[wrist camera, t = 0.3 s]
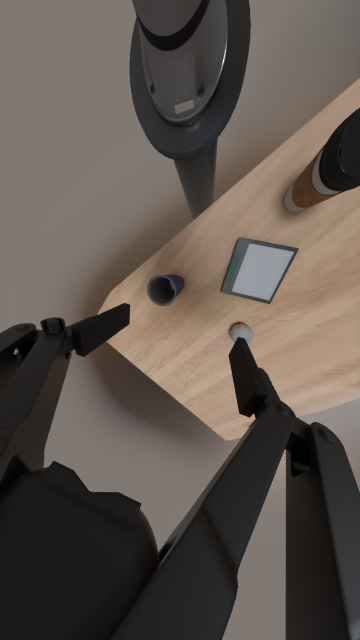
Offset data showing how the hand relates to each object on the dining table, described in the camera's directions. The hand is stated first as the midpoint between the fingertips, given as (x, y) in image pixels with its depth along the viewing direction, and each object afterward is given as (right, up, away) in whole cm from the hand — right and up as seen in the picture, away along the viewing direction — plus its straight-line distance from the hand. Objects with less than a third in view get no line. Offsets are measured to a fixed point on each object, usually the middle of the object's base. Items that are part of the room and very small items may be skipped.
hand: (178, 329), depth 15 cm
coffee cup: (+27, +29, +14) cm, 42 cm away
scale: (+21, +15, +21) cm, 33 cm away
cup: (-1, +13, +27) cm, 30 cm away
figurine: (+20, -2, +28) cm, 35 cm away
